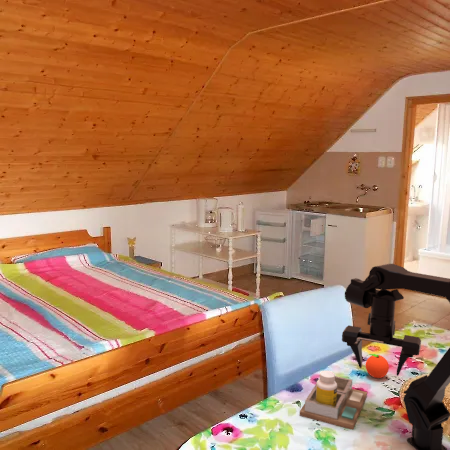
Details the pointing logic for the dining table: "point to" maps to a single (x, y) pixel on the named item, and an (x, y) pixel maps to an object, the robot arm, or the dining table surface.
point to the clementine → (377, 366)
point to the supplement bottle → (326, 389)
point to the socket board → (343, 410)
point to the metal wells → (327, 409)
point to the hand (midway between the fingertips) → (378, 371)
